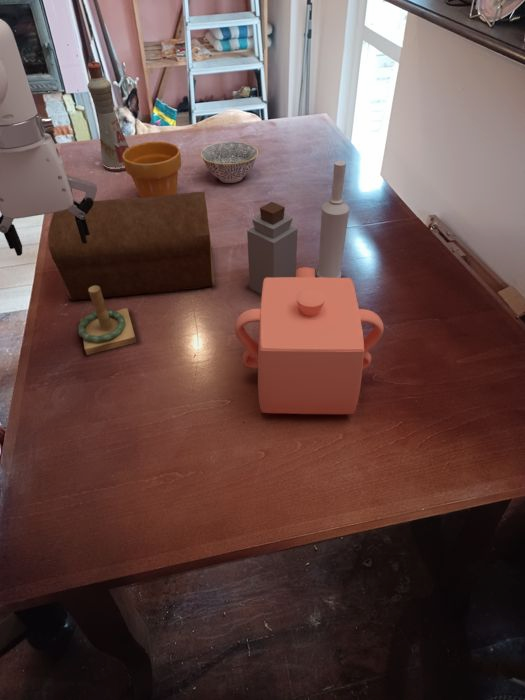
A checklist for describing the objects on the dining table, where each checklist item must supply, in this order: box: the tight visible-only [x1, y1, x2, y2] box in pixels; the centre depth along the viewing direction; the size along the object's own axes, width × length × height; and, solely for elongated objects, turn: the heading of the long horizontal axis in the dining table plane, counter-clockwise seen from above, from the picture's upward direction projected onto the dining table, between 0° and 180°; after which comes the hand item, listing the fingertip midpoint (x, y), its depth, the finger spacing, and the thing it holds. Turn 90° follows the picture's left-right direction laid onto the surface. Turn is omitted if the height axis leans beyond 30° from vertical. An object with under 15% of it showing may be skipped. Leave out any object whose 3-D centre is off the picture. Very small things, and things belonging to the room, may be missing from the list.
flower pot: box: [122, 141, 182, 198], centre depth 123 cm, size 14×14×13 cm
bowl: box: [199, 141, 259, 184], centre depth 135 cm, size 16×16×8 cm
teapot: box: [234, 266, 385, 415], centre depth 77 cm, size 25×23×18 cm
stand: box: [79, 286, 137, 356], centre depth 86 cm, size 9×9×10 cm
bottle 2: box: [316, 160, 351, 278], centre depth 92 cm, size 5×5×25 cm
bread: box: [47, 191, 216, 301], centre depth 98 cm, size 18×30×16 cm, turn 98°
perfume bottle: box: [246, 201, 298, 296], centre depth 93 cm, size 7×7×18 cm
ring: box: [77, 309, 126, 343], centre depth 88 cm, size 8×8×1 cm
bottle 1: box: [87, 61, 130, 172], centre depth 135 cm, size 9×9×28 cm
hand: (52, 245), depth 75 cm, fingers open, 9 cm apart
